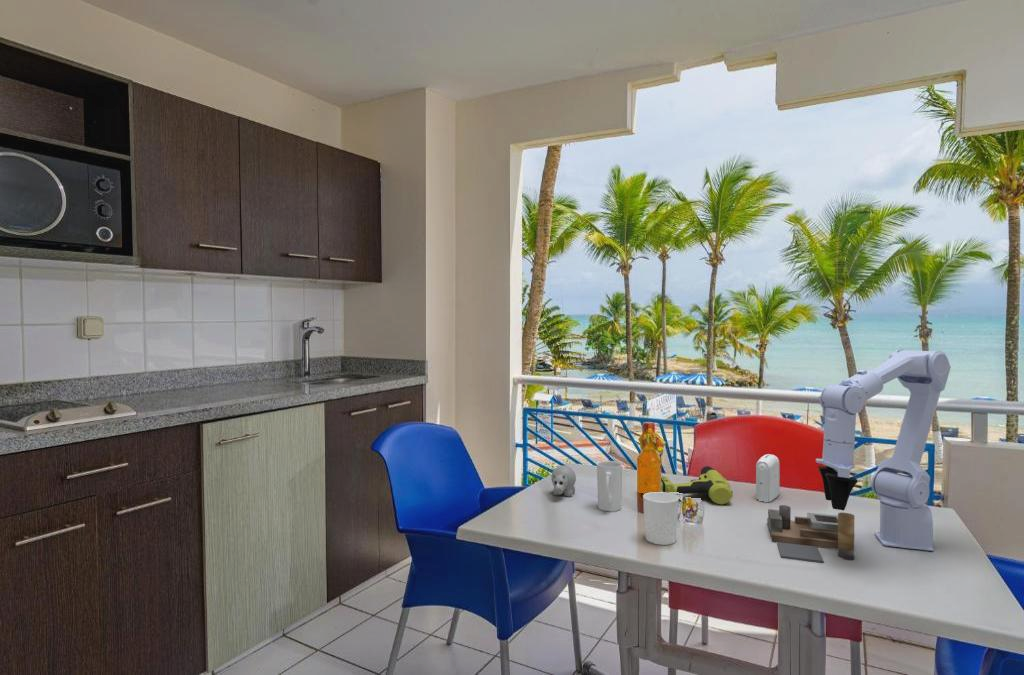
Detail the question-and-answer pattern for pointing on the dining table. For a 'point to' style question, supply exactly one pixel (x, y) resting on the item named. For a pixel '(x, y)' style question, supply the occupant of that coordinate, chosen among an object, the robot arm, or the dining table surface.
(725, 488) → the cordless drill
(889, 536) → the robot arm
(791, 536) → the chuck base
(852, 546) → the wooden square peg
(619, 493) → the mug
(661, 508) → the white cup
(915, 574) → the dining table surface
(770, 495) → the photo printer
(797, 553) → the pad
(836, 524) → the grey square frame
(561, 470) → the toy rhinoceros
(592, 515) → the dining table surface
